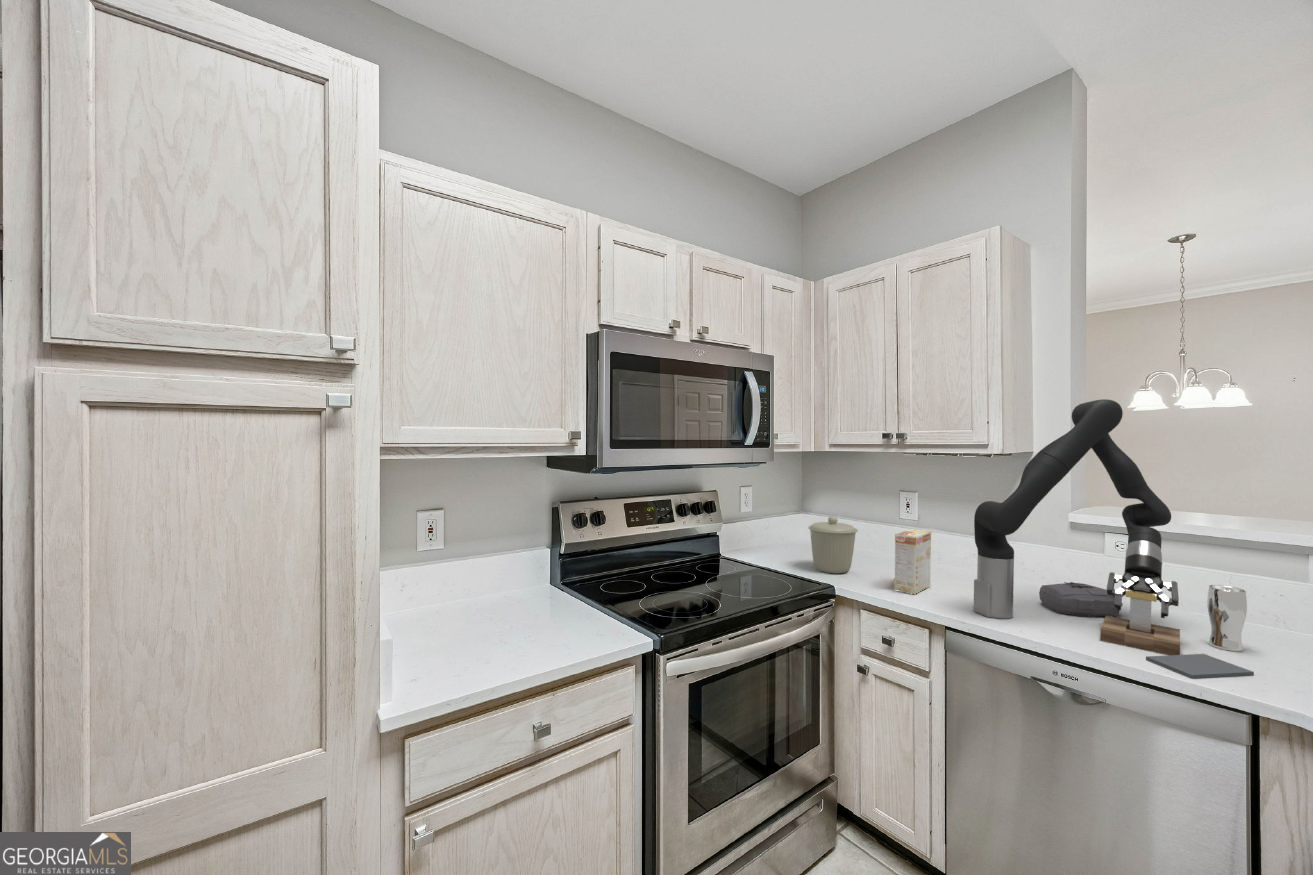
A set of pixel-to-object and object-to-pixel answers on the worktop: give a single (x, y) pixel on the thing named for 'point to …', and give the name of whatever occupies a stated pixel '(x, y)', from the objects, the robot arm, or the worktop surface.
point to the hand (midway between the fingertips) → (1140, 612)
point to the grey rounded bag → (1078, 600)
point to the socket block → (1141, 636)
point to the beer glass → (1226, 616)
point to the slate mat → (1199, 666)
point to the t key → (1140, 610)
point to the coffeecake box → (912, 560)
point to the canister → (832, 545)
